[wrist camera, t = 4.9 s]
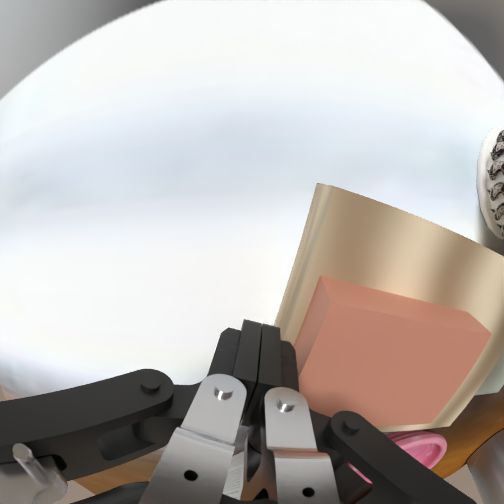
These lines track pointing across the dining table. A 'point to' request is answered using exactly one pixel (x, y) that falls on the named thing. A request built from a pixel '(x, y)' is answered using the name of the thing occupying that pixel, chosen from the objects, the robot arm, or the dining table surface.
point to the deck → (397, 273)
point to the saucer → (417, 447)
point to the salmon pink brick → (383, 353)
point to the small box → (235, 477)
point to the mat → (494, 378)
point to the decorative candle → (492, 180)
